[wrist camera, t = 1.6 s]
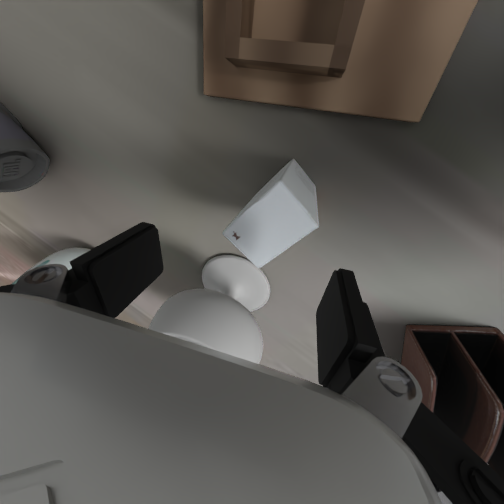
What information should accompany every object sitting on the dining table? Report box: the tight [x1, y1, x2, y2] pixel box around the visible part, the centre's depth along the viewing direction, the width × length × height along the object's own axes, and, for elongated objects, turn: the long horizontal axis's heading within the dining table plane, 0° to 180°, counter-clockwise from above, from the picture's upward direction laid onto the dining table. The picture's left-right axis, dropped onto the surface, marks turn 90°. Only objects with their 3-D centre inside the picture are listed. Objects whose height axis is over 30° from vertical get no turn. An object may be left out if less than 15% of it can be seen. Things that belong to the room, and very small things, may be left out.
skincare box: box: [223, 159, 319, 268], centre depth 19 cm, size 6×4×12 cm
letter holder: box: [401, 325, 504, 480], centre depth 26 cm, size 10×20×14 cm, turn 15°
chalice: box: [148, 255, 271, 364], centre depth 28 cm, size 14×14×15 cm
